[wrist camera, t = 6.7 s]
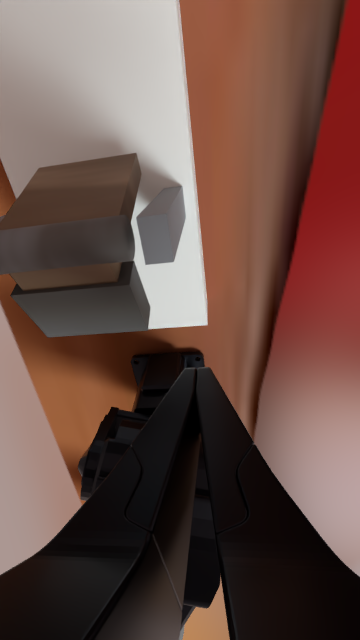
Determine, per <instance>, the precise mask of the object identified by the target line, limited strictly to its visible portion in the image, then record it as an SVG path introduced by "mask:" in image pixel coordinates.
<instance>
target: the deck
mask: <svg viewBox="0 0 360 640" xmlns="http://www.w3.org/2000/svg"><path fill="white" fill-rule="evenodd" d="M131 153H137V157H138V161H139V165H140V169H141V173H142V175H141V180H140V184H139V188H138V193H137V197H136V202H135V206H134V211H133V215H132V220H131V226H132V229H133V234H134V240H135V256H134V259H133V261H134V262H135V265H136V268H137V271H138V273H139V276H140V279H141V282H142V285H143V288H144V290H145V293H146V296H147V299H148V302H149V304H150V307H151V308H150V317H149V325H148V329H158V328H172V327H186V326H200V325H207V294H206V284H205V273H204V262H203V251H202V241H201V230H200V219H199V208H198V198H197V187H196V176H195V165H194V155H193V144H192V133H191V122H190V112H189V101H188V90H187V79H186V69H185V58H184V47H183V36H182V26H181V15H180V4H179V0H0V159H1V161H2V164H3V166H4V169H5V172H6V174H7V177H8V179H9V182H10V184H11V187H12V189H13V192H14V194H15V197H16V199H17V198H18V197H19V195H20V194H21V193H22V191H23V190H24V188H25V187H26V185H27V184H28V183H29V181H30V180H31V178H32V177H33V176H34V174H35V173H36V171H37V170H38V169H39V168H41V167H47V166H54V165H60V164H67V163H73V162H80V161H86V160H93V159H99V158H106V157H112V156H118V155H125V154H131ZM4 216H5V215H4ZM4 216H1V217H0V222H1V221H2V219H3V218H4Z"/></svg>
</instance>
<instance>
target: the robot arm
mask: <svg viewBox="0 0 360 640" xmlns="http://www.w3.org/2000/svg"><path fill="white" fill-rule="evenodd" d="M196 357H200V358H196ZM135 360H138V361H139V362H136V361H135ZM131 364H132V368H133V372H134V375H135V379H136V382H137V386H138V390H137V394H136V398H135V401H134V405H133V408H132V412H130V411H124V410H119V408H116V407H111V409H110V411H109V413H108V415H105V417H104V420H103V421H102V422H101V424H100V426H99V429H98V432H97V434H96V436H95V438H94V440H93V442H92V444H91V445H90V447H89V448H88V449H87V451H86V452H85V453H84V455H83V456H82V457H81V459H80V461H79V465H78V470H79V472H80V474H81V476H82V481H81V485H82V488H81V500H85V501H86V502H85V503H84V504H83V505H82V507H81V508H80V509H79V510H78V511H77V512H76V513H75V515H74V516H73V517H72V518H71V519H70V520H69V522H68V523H67V524H66V525H65V526H64V527H63V529H62V530H61V531H60V532H59V533H58V534H57V535H56V536H55V537H54V538H53V539H52V540H51V541H50V542H49V543H48V544H47V545H46V546H45V547H44V548H42V549H41V550H40V551H39V552H37V553H36V554H34V555H33V556H32V557H30V558H28V559H27V560H25V561H23V562H22V563H20V564H18V565H17V566H15V567H13V568H12V569H10V570H8V571H6V572H5V573H3V574H1V575H0V640H179V637H180V631H181V629H182V627H183V626H184V624H185V623H186V621H187V619H188V618H189V617H190V615H191V613H192V612H193V610H194V609H195V607H202V608H208V607H209V606H210V605H211V603H212V601H213V598H214V596H215V594H216V592H217V590H218V588H219V585H220V573H221V580H222V587H223V594H224V602H225V609H226V616H227V623H228V630H229V637H230V640H360V577H359V576H358V575H357V574H355V573H354V572H353V571H352V570H351V569H350V568H349V567H348V566H346V565H345V564H344V563H343V562H342V561H341V560H340V559H339V558H338V556H337V555H336V554H335V553H334V552H333V551H332V550H331V548H330V547H329V546H328V545H327V544H326V542H325V541H324V540H323V539H322V537H321V536H320V535H319V534H318V532H317V531H316V530H315V528H314V527H313V526H312V525H311V523H310V522H309V521H308V519H307V518H306V516H305V515H304V514H303V513H302V511H301V510H300V509H299V507H298V506H297V505H296V503H295V502H294V501H293V500H292V498H291V497H290V496H289V495H288V493H287V492H286V490H285V489H284V488H283V486H282V485H281V483H280V482H279V481H278V479H277V478H276V477H275V475H274V474H273V472H272V471H271V469H270V468H269V466H268V465H267V463H266V461H265V460H264V459H263V457H262V455H261V453H260V451H259V450H258V448H257V446H256V445H254V442H253V440H252V438H251V436H250V435H249V433H248V431H247V430H246V428H245V426H244V425H243V423H242V421H241V419H240V418H239V416H238V414H237V413H236V411H235V409H234V407H233V406H232V404H231V402H230V401H229V399H228V397H227V396H226V394H225V392H224V390H223V389H222V387H221V385H220V384H219V382H218V380H217V378H216V377H215V375H214V373H213V372H212V370H211V368H209V367H205V365H204V356H203V354H202V353H201V352H182V353H163V354H147V355H135V356H133V357H132V359H131Z"/></svg>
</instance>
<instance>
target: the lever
mask: <svg viewBox="0 0 360 640" xmlns="http://www.w3.org/2000/svg"><path fill="white" fill-rule="evenodd" d="M141 175H142V173H141V169H140V165H139V161H138V157H137V153H131V154H125V155H118V156H112V157H106V158H99V159H93V160H86V161H80V162H73V163H67V164H60V165H54V166H47V167H41V168H39V169H38V170H37V171H36V173H35V174H34V176H33V177H32V178H31V180H30V181H29V183H28V184H27V185H26V187H25V188H24V190H23V191H22V193H21V194H20V195H19V197H18V198H17V200H16V201H15V202H14V204H13V205H12V207H11V208H10V209H9V211H8V212H7V214H6V215H5V216H4V218H3V219H2V221H1V222H0V275H2V274H10V276H11V277H12V278H13V279H14V280H15V282H16V283H17V284H16V286H15V288H14V290H13V292H12V294H11V295H10V296H11V297H12V298H13V299H14V300H15V301H16V303H17V304H18V305H19V306H20V307H21V308H22V309H23V310H24V311H25V312H26V314H27V315H28V316H29V317H30V318H31V319H32V320H33V321H34V322H35V324H36V325H37V326H38V327H39V328H40V329H41V330H42V331H43V332H44V334H45V335H46V336H47V337H61V336H75V335H90V334H104V333H119V332H133V331H147V330H148V325H149V317H150V308H151V307H150V304H149V302H148V299H147V296H146V293H145V290H144V288H143V285H142V282H141V279H140V276H139V273H138V271H137V268H136V265H135V262H134V261H133V259H134V256H135V240H134V234H133V229H132V226H131V220H132V215H133V211H134V206H135V202H136V197H137V193H138V188H139V184H140V180H141Z"/></svg>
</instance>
